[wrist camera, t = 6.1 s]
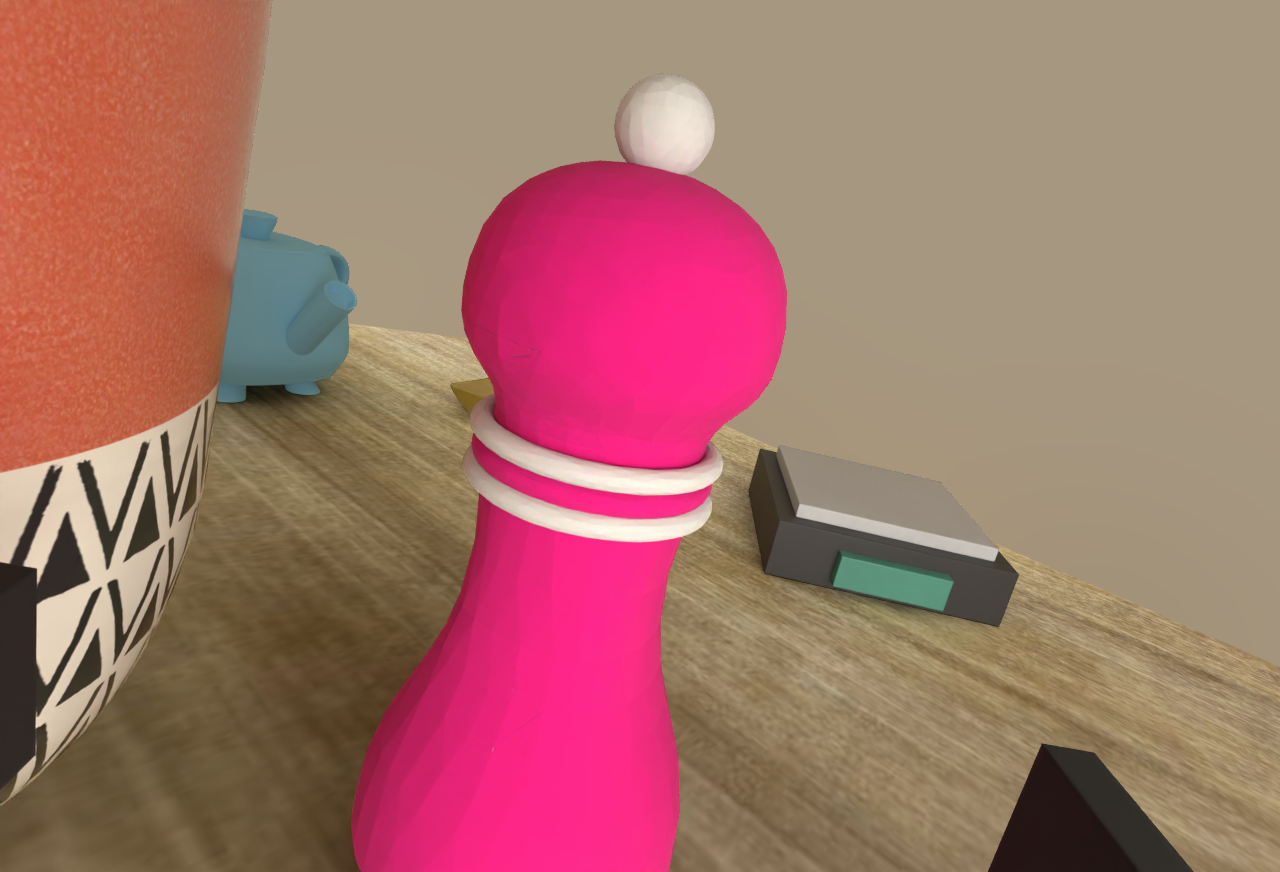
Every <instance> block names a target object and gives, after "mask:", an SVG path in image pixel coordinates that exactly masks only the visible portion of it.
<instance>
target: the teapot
mask: <svg viewBox="0 0 1280 872" xmlns="http://www.w3.org/2000/svg"><path fill="white" fill-rule="evenodd" d="M277 219H278V218H277V217H275V216H274V215H272V214H268V213H265V212H260V211H254V210H248V209H244V210H243V218H242V226H241V233H240V241H239V249H238V257H237V265H236V273H235V281H234V289H233V297H232V305H231V312H230V318H229V325H228V332H227V338H226V345H225V351H224V358H223V364H222V371H221V378H220V384H219V391H218V398H217V401H219V402H229V403H233V402H241V401H244V400H245V399H246V385H250V386H251V385H281V384H284V386H285V389H286V390H287V391H289V392H292V393H295V394H301V395H316V394H319V393H320V392H321V391H320V390H319V388H318V386H317V385H316V383H315V381H319V380H324V379H327V378H329V377H331V376H332V374H333V373H334V372H335V371H336V370H337V369H338V368H339V367H340V365H341V364H342V363H343V361H344V360H345V358H346V356H347V354H348V349H349V325H348V314H349V313H350V312H351V311H352V310H353V309H354V307H355V306H356V305H357V297H356V295H355V293H354V292H353V290H352V289H351V288H350V287H349V286H347V284H348V280H349V267H348V263H347V261H346V260H345V258H344V257H343V256H342V255H341V254H340V253H339V252H337V251H336V250H334V249H332V248H330V247H327V246H323V245H315V244H312V243H310V242H307V241H304V240H301V239H298V238H295V237H291V236H288V235H284V234H280V233H276V232H272V230H273V229H274V227H275V225H276V222H277Z"/></svg>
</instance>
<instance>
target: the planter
mask: <svg viewBox="0 0 1280 872" xmlns="http://www.w3.org/2000/svg"><path fill="white" fill-rule="evenodd" d="M271 9H272V0H0V562H3V563H9V564H15V565H20V566H26V567H32V568H37V641H36V755H35V756H34V757H33V758H32V759H31V760H30V761H29V762H28V763H27V764H26V765H25V766H24V767H23V768H22V769H21V770H20V771H19V772H18V773H17V774H16V775H15V776H14V777H13V778H12V779H11V780H10V781H9V782H8V783H7V784H6V785H5V786H4V787H3V788H2V789H1V790H0V806H1V805H3V804H4V803H5V802H6V801H8V800H9V799H10V798H12V797H13V796H14V795H15V794H17V793H18V792H19V791H21V790H22V789H23V788H24V787H26V786H27V785H28V784H29V783H30V782H32V781H33V780H34V779H35V778H36V777H37V776H38V775H40V774H41V773H42V772H43V771H44V770H45V769H46V768H47V767H48V766H50V765H51V764H52V763H53V762H54V761H55V760H56V759H57V758H58V757H59V756H60V755H61V754H62V753H63V752H64V751H65V750H66V749H67V748H68V747H70V745H71V744H72V743H73V742H74V741H75V740H76V739H77V738H78V737H79V736H80V735H81V734H82V733H83V732H84V731H85V730H86V729H87V728H88V727H89V726H90V725H91V723H92V722H93V721H94V720H95V719H96V718H97V716H98V715H99V714H100V713H101V712H102V710H103V709H104V708H105V707H106V705H107V704H108V703H109V702H110V700H111V699H112V698H113V697H114V696H115V694H116V693H117V692H118V691H119V689H120V688H121V686H122V685H123V683H124V682H125V681H126V679H127V678H128V676H129V675H130V673H131V672H132V670H133V668H134V666H135V665H136V663H137V661H138V660H139V658H140V656H141V654H142V653H143V651H144V649H145V648H146V646H147V644H148V642H149V640H150V639H151V637H152V635H153V633H154V631H155V629H156V627H157V625H158V623H159V620H160V618H161V616H162V614H163V611H164V609H165V607H166V605H167V603H168V600H169V598H170V596H171V594H172V591H173V589H174V586H175V584H176V581H177V578H178V576H179V573H180V570H181V567H182V564H183V561H184V558H185V556H186V553H187V550H188V547H189V544H190V541H191V538H192V535H193V532H194V529H195V526H196V521H197V516H198V512H199V507H200V502H201V498H202V493H203V488H204V484H205V479H206V473H207V467H208V461H209V453H210V446H211V439H212V432H213V425H214V418H215V411H216V404H217V398H218V391H219V384H220V378H221V371H222V364H223V358H224V351H225V345H226V338H227V332H228V325H229V318H230V312H231V305H232V297H233V289H234V281H235V273H236V265H237V257H238V249H239V241H240V233H241V226H242V218H243V210H244V201H245V194H246V187H247V180H248V173H249V167H250V159H251V153H252V146H253V139H254V133H255V126H256V120H257V114H258V107H259V101H260V94H261V88H262V81H263V76H264V69H265V60H266V52H267V43H268V34H269V26H270V18H271Z"/></svg>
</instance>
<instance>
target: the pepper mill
mask: <svg viewBox="0 0 1280 872" xmlns="http://www.w3.org/2000/svg"><path fill="white" fill-rule="evenodd" d="M615 138H616V141H617V144H618V147H619V151H620V153H621V155H622V156H623V158H624V159H625V160H626V162H627V163H626V162H612V161H590V162H580V163H575V164H570V165H565V166H560V167H557V168H554V169H552V170H549V171H546V172H544V173H542V174H539V175H537V176H535V177H533V178H530V179H529V180H527V181H526V182H524V183H523V184H522V185H520V186H519V187H518V188H516V189H515V190H514V191H512V192H511V193H509V194H508V195H507V196H505V197H504V198H503V199H502V201H501V202H500V203H499V205H498V206H497V207H496V209H495V210H494V211H493V213H492V214H491V215H490V216H489V218H488V219H487V221H486V222H485V223H484V224H483V227H482V229H481V232H480V234H479V237H478V239H477V241H476V244H475V246H474V248H473V251H472V253H471V256H470V258H469V262H468V267H467V271H466V276H465V280H464V286H463V296H462V309H461V310H462V317H463V323H464V330H465V333H466V335H467V338H468V340H469V343H470V345H471V347H472V350H473V352H474V354H475V356H476V357H477V359H478V361H479V362H480V364H481V365H482V367H483V369H484V370H485V372H486V374H487V375H488V377H489V379H490V381H491V383H492V385H493V390H494V394H491V395H489V396H487V397H485V398H483V399H482V400H480V401H479V402H478V403H476V404H475V406H474V407H473V409H472V411H471V415H470V425H471V428H472V430H473V432H474V433H473V438H472V443H471V445H470V447H469V448H468V449H467V450H466V452H465V455H464V457H463V462H462V466H463V471H464V474H465V476H466V478H467V480H468V481H469V483H470V484H471V485H472V487H473V488H474V489H475V490H476V491H477V492H479V502H478V513H477V524H476V535H475V541H474V545H473V548H472V552H471V556H470V559H469V563H468V567H467V570H466V574H465V578H464V581H463V585H462V589H461V592H460V595H459V597H458V599H457V601H456V603H455V605H454V607H453V610H452V612H451V614H450V616H449V618H448V620H447V622H446V624H445V626H444V627H443V629H442V631H441V632H440V634H439V635H438V637H437V638H436V640H435V642H434V643H433V645H432V646H431V648H430V649H429V651H428V652H427V654H426V655H425V656H424V658H423V659H422V660H421V662H420V663H419V664H418V666H417V667H416V668H415V670H414V671H413V672H412V674H411V675H410V676H409V678H408V679H407V681H406V682H405V683H404V685H403V686H402V687H401V689H400V690H399V691H398V693H397V694H396V695H395V697H394V698H393V700H392V701H391V703H390V705H389V707H388V708H387V710H386V712H385V714H384V716H383V718H382V720H381V722H380V724H379V726H378V728H377V730H376V732H375V734H374V736H373V738H372V740H371V742H370V744H369V746H368V748H367V751H366V755H365V759H364V762H363V766H362V770H361V774H360V777H359V781H358V785H357V789H356V793H355V798H354V804H353V810H352V816H351V834H352V841H353V847H354V854H355V859H356V862H357V865H358V867H359V870H360V872H668V871H669V868H670V863H671V857H672V852H673V846H674V841H675V835H676V830H677V824H678V819H679V813H680V794H679V761H678V752H677V747H676V742H675V737H674V732H673V727H672V722H671V717H670V712H669V706H668V701H667V696H666V691H665V686H664V681H663V674H662V667H661V615H662V609H663V603H664V597H665V591H666V585H667V579H668V573H669V571H670V568H671V565H672V562H673V560H674V557H675V554H676V551H677V549H678V546H679V543H680V541H681V538H682V536H685V535H688V534H690V533H692V532H694V531H696V530H698V529H699V528H700V527H702V526H703V525H704V524H705V523H706V521H707V520H708V518H709V516H710V514H711V510H712V500H711V497H710V492H711V488H712V483H713V482H714V481H715V480H716V479H717V478H718V477H719V476H720V475H721V473H722V468H723V460H722V457H721V454H720V452H719V450H718V449H717V447H716V446H715V445H714V444H713V443H712V442H711V441H710V440H711V438H712V436H713V435H714V434H715V433H716V432H717V431H718V430H719V429H720V428H721V427H722V426H723V425H724V424H725V423H727V422H728V421H729V420H731V419H732V418H734V417H735V416H737V415H738V414H740V413H741V412H742V411H744V410H745V409H747V408H748V407H749V406H750V405H751V404H753V403H754V401H756V400H757V399H758V398H759V397H760V395H761V394H762V392H763V391H764V390H765V388H766V387H767V385H768V384H769V382H770V381H771V380H772V377H773V374H774V371H775V368H776V365H777V363H778V360H779V357H780V354H781V349H782V344H783V339H784V335H785V330H786V304H787V290H786V285H785V280H784V275H783V270H782V267H781V264H780V262H779V259H778V256H777V254H776V251H775V248H774V247H773V245H772V244H771V242H770V241H769V239H768V238H767V236H766V235H765V233H764V232H763V230H762V229H761V227H760V226H759V224H758V223H757V222H755V220H754V219H753V218H752V217H751V216H750V215H749V214H748V213H747V212H746V211H745V210H744V209H742V208H741V207H740V206H739V205H737V204H736V203H734V202H733V201H732V200H730V199H729V198H727V197H726V196H724V195H723V194H721V193H720V192H719V191H717V190H716V189H713V188H712V187H710V186H708V185H706V184H704V183H702V182H700V181H698V180H696V179H694V178H691V177H689V176H686V175H687V174H689V173H691V172H692V171H693V170H695V169H696V168H697V167H698V166H699V165H700V164H701V162H702V161H703V159H704V158H705V156H706V155H707V153H708V152H709V150H710V148H711V146H712V142H713V139H714V116H713V110H712V107H711V105H710V104H709V101H708V100H707V98H706V96H705V95H704V94H703V92H702V91H701V89H700V88H699V87H697V86H696V85H695V84H693V83H692V82H691V81H689V80H687V79H685V78H683V77H680V76H677V75H672V74H658V75H654V76H651V77H647V78H645V79H643V80H641V81H639V82H638V83H636V84H635V85H634V86H633V87H632V88H630V90H629V91H628V93H627V94H626V95H625V96H624V98H623V99H622V100H621V103H620V106H619V108H618V111H617V114H616V119H615Z"/></svg>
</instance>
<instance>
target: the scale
mask: <svg viewBox="0 0 1280 872" xmlns="http://www.w3.org/2000/svg"><path fill="white" fill-rule="evenodd" d="M749 496H750V501H751V506H752V511H753V517H754V522H755V527H756V532H757V537H758V543H759V548H760V553H761V558H762V564H763V569H764V573H765V574H770V575H774V576H779V577H783V578H787V579H792V580H796V581H801V582H805V583H809V584H814V585H818V586H823V587H827V588H831V589H836V590H840V591H844V592H849V593H853V594H858V595H862V596H866V597H871V598H875V599H880V600H884V601H888V602H893V603H897V604H902V605H906V606H910V607H915V608H919V609H924V610H928V611H932V612H937V613H941V614H946V615H950V616H954V617H959V618H963V619H968V620H972V621H976V622H981V623H985V624H990V625H994V626H999V625H1000V623H1001V620H1002V618H1003V615H1004V612H1005V610H1006V607H1007V605H1008V602H1009V599H1010V597H1011V594H1012V592H1013V589H1014V586H1015V584H1016V581H1017V579H1018V576H1019V574H1018V573H1017V572H1016V571H1015V569H1014V568H1013V567H1012V566H1011V565H1010V564H1009V562H1008V561H1007V560H1006V559H1005V558H1004V557H1003V556H1002V554H1001V553H1000V552H999V548H998V547H997V546H996V545H995V544H994V543H993V541H992V540H991V539H990V538H989V537H988V536H987V535H986V533H985V532H984V531H983V530H982V529H981V528H980V527H979V526H978V524H977V523H976V522H975V521H974V520H973V519H972V518H971V516H970V515H969V514H968V513H967V512H966V511H965V509H964V508H963V507H962V506H961V505H960V504H959V503H958V501H957V500H956V499H955V498H954V497H953V496H952V495H951V493H950V492H949V491H948V490H947V489H946V488H945V487H944V486H943V484H942V483H941V482H939V481H935V480H931V479H926V478H922V477H917V476H913V475H909V474H904V473H900V472H896V471H891V470H886V469H882V468H878V467H873V466H869V465H865V464H860V463H856V462H851V461H847V460H843V459H838V458H834V457H830V456H825V455H821V454H816V453H812V452H808V451H803V450H799V449H794V448H790V447H786V446H781V445H780V446H779V447H778V451H777V452H773V451H769V450H764V449H760V451H759V455H758V458H757V462H756V466H755V469H754V473H753V477H752V480H751V484H750V488H749Z"/></svg>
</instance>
